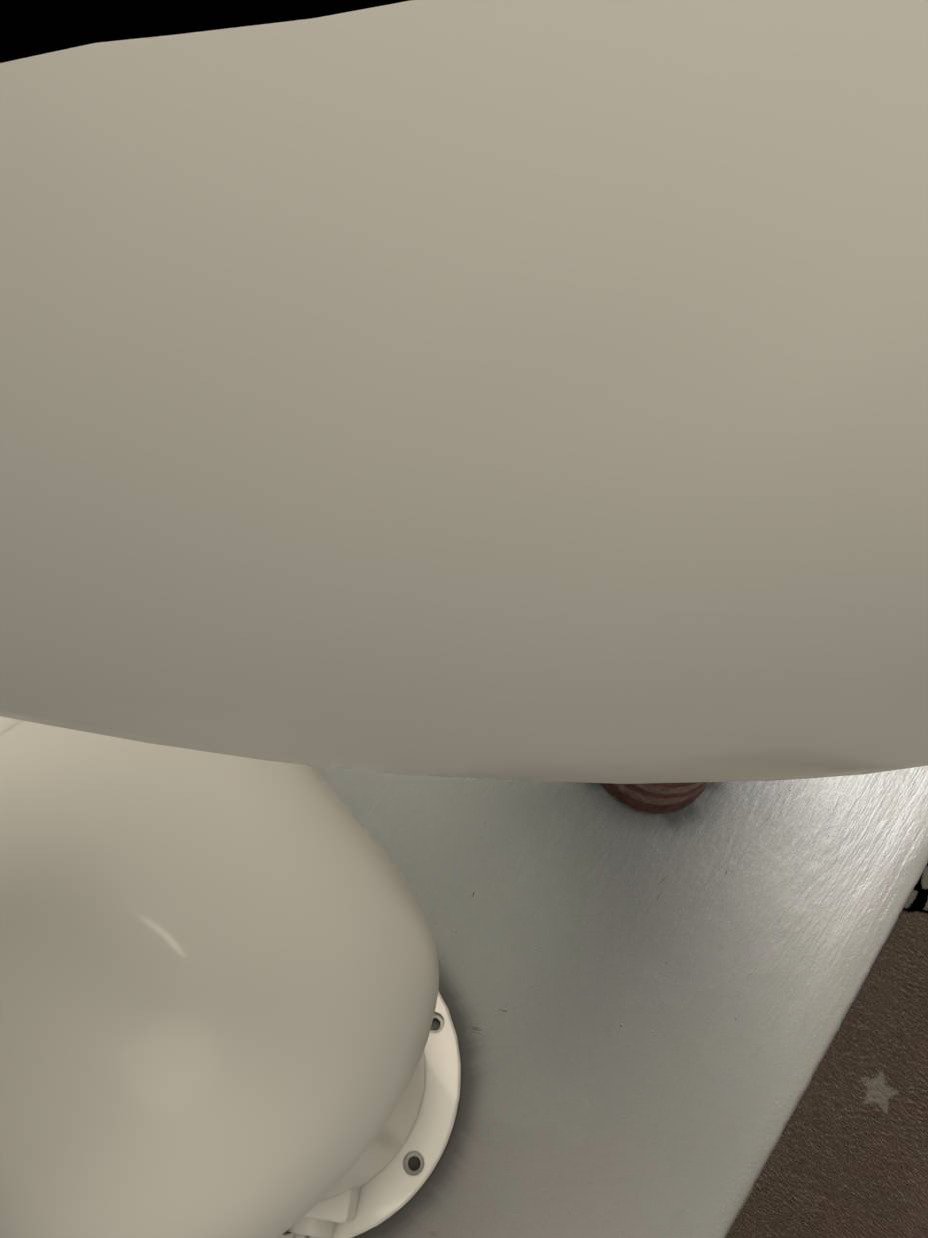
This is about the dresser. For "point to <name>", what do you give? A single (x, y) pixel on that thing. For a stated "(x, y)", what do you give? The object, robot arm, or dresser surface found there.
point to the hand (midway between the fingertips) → (725, 614)
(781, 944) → the dresser surface
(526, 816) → the dresser surface
